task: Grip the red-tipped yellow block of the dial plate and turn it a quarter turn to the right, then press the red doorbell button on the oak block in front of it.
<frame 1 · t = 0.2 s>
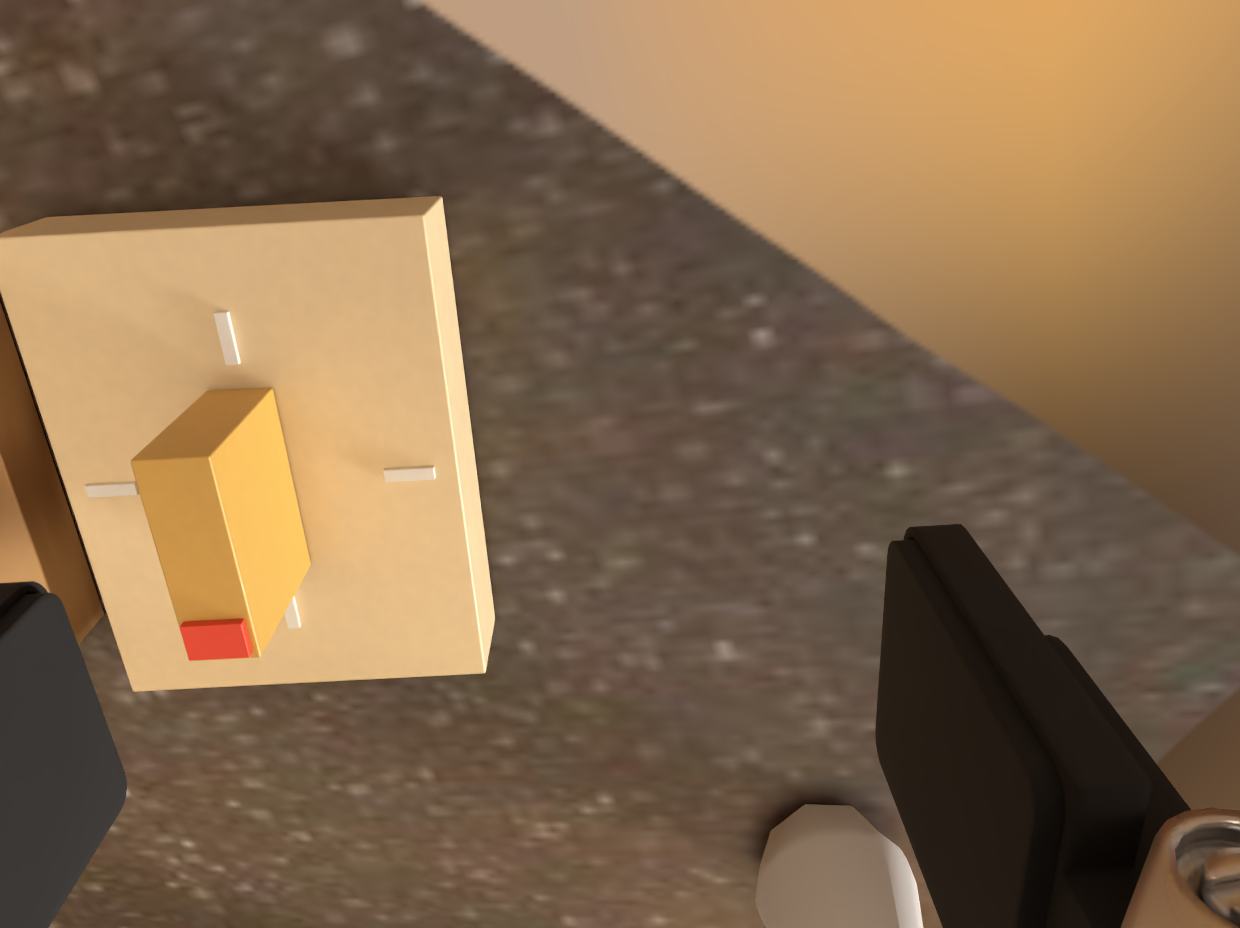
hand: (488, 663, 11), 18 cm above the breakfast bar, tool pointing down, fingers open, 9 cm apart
salt shaker: (819, 836, 37), on the breakfast bar
dial plate: (293, 438, 29), on the breakfast bar
red-tipped yellow block: (230, 521, 24), point 5 cm above the breakfast bar, hinge at 0.0°
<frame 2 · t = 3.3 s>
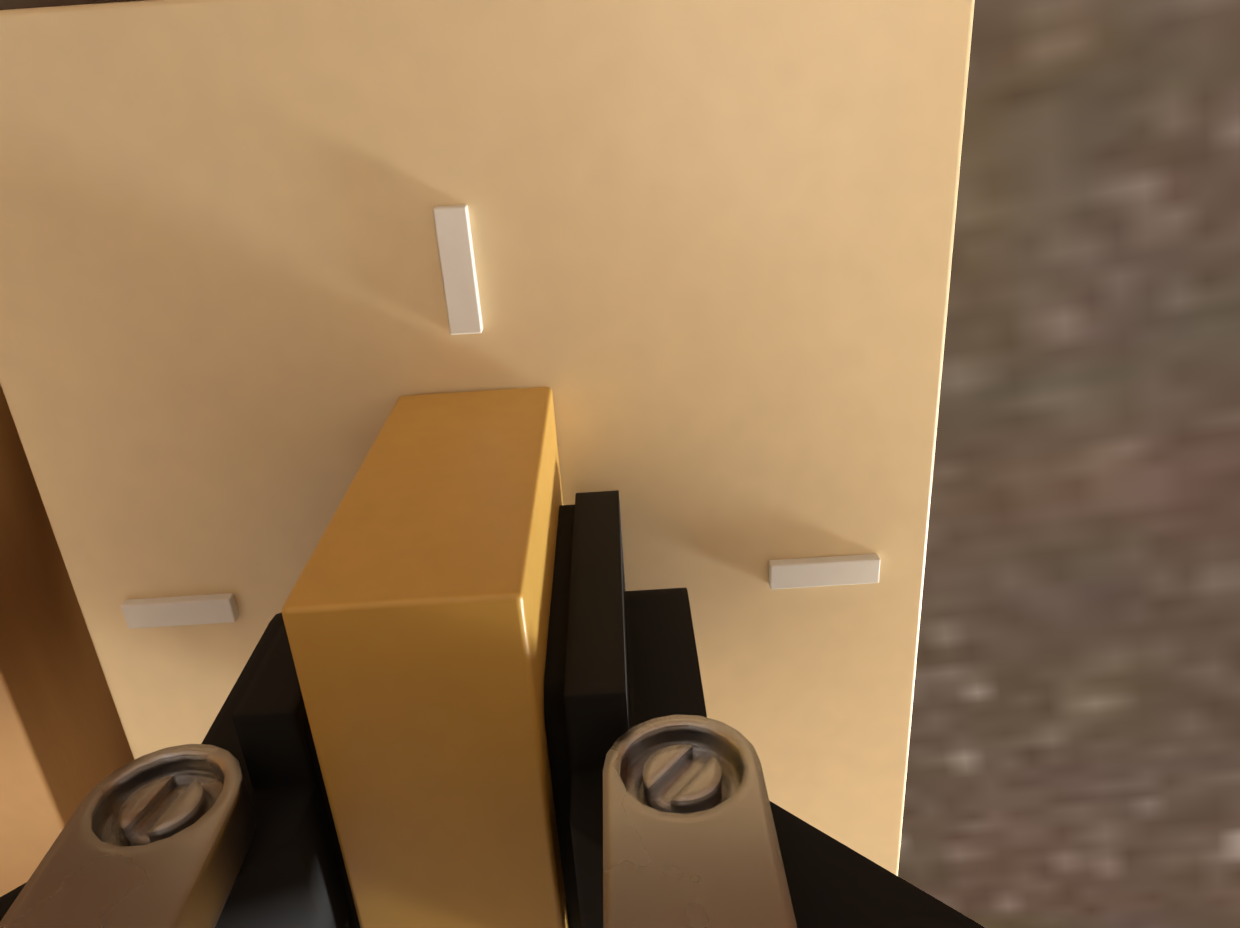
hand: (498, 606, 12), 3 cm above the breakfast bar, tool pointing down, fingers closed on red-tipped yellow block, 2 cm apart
dial plate: (520, 486, 15), on the breakfast bar
red-tipped yellow block: (480, 710, 10), point 5 cm above the breakfast bar, hinge at 0.0°, touching gripper
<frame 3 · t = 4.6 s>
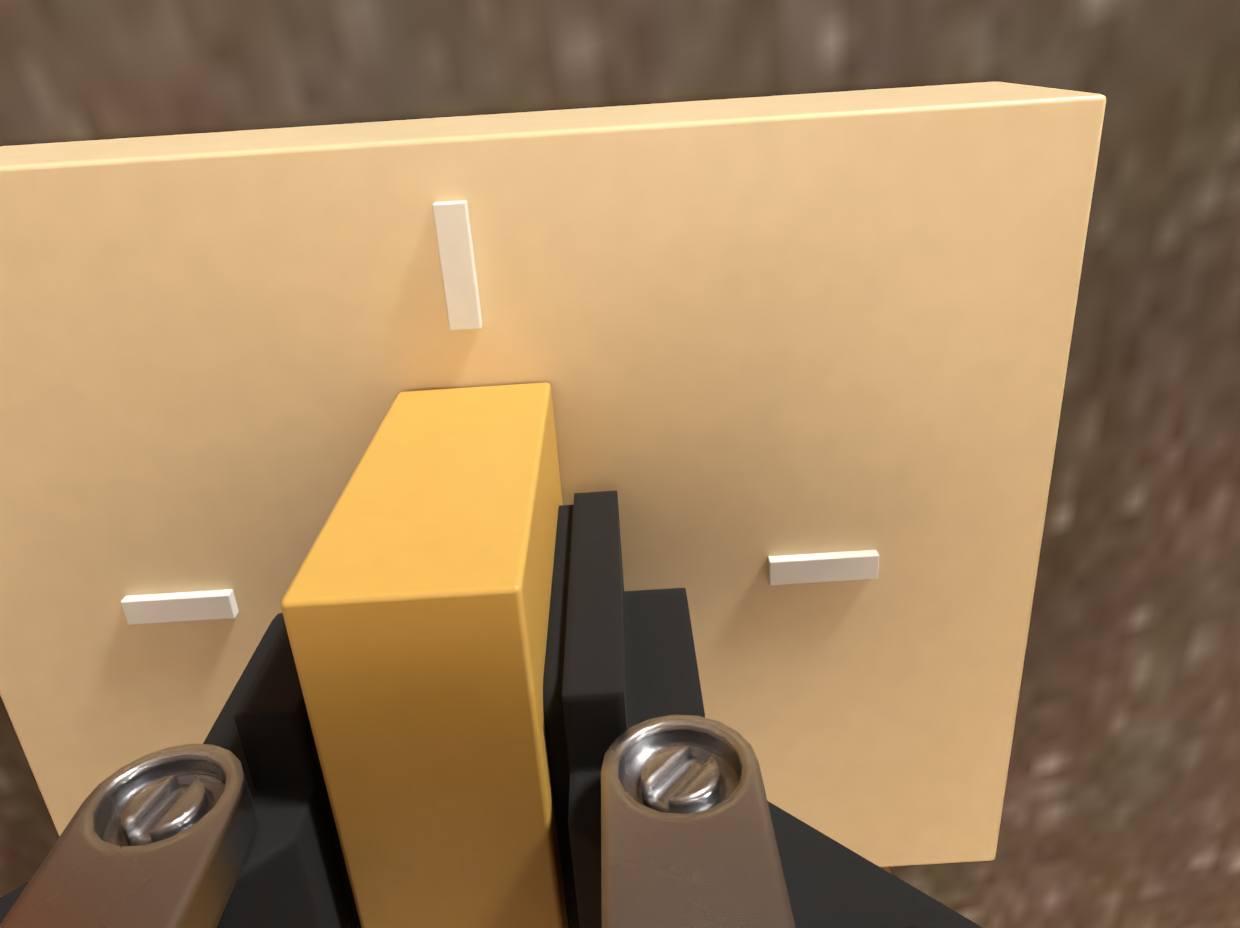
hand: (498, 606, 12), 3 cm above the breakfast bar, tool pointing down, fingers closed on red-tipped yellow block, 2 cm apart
dial plate: (519, 483, 15), on the breakfast bar
red-tipped yellow block: (479, 705, 10), point 5 cm above the breakfast bar, hinge at -90.0°, touching gripper
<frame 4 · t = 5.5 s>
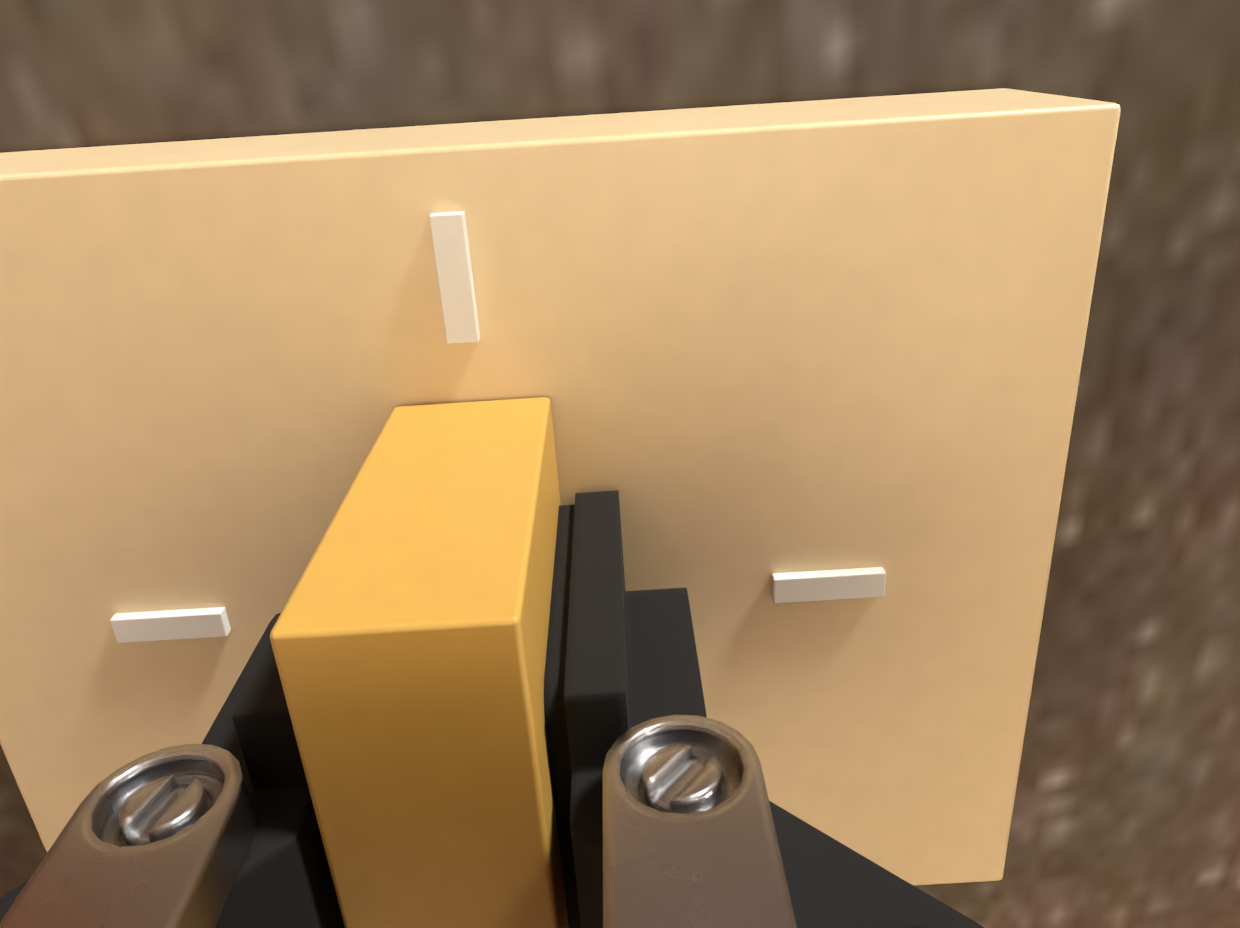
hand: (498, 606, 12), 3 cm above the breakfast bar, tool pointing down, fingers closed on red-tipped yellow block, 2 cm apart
dial plate: (518, 495, 15), on the breakfast bar
red-tipped yellow block: (476, 730, 10), point 5 cm above the breakfast bar, hinge at -89.9°, touching gripper
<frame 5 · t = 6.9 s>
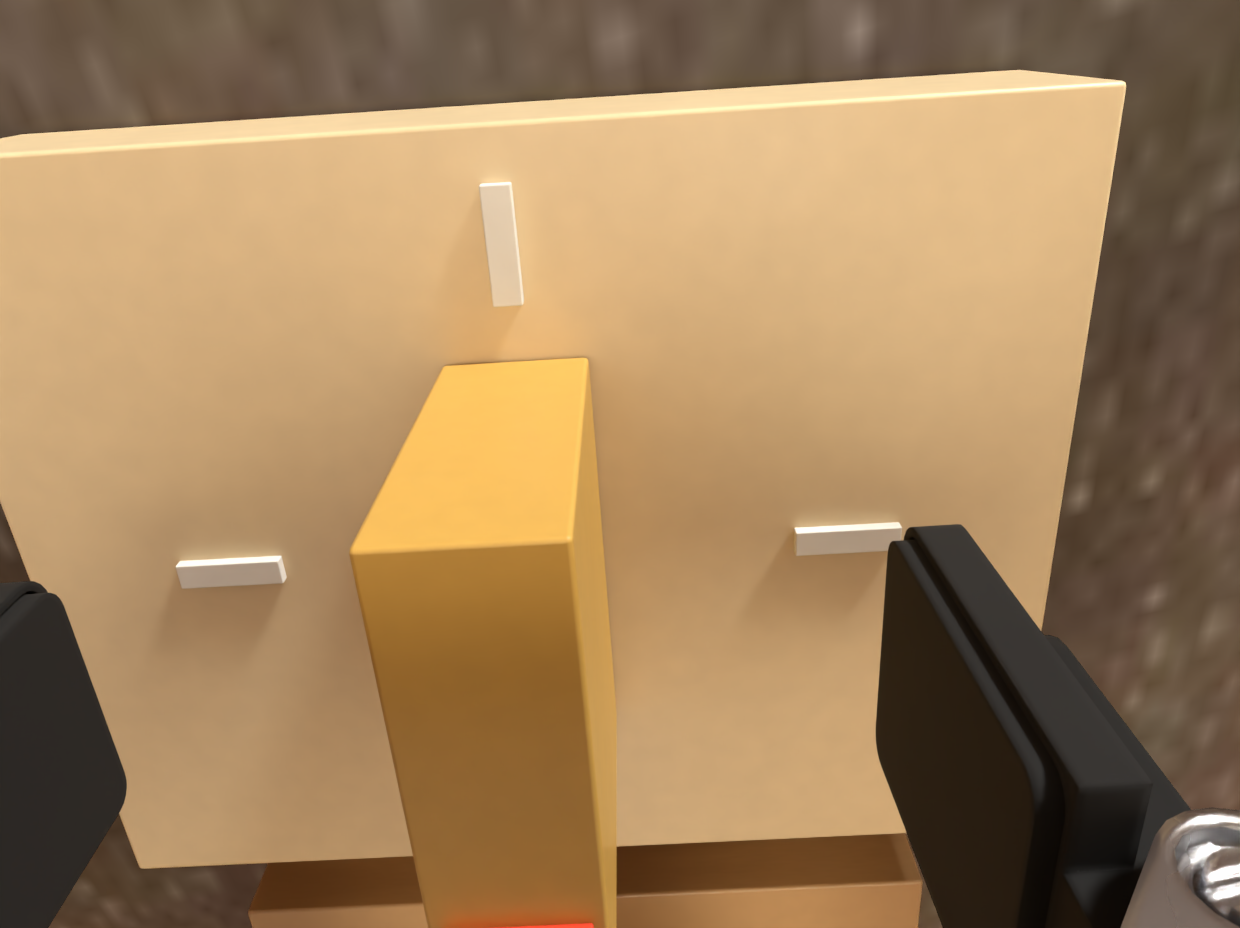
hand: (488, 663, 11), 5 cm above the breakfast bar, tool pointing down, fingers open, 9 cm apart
dial plate: (551, 459, 15), on the breakfast bar
red-tipped yellow block: (520, 662, 10), point 5 cm above the breakfast bar, hinge at -89.9°
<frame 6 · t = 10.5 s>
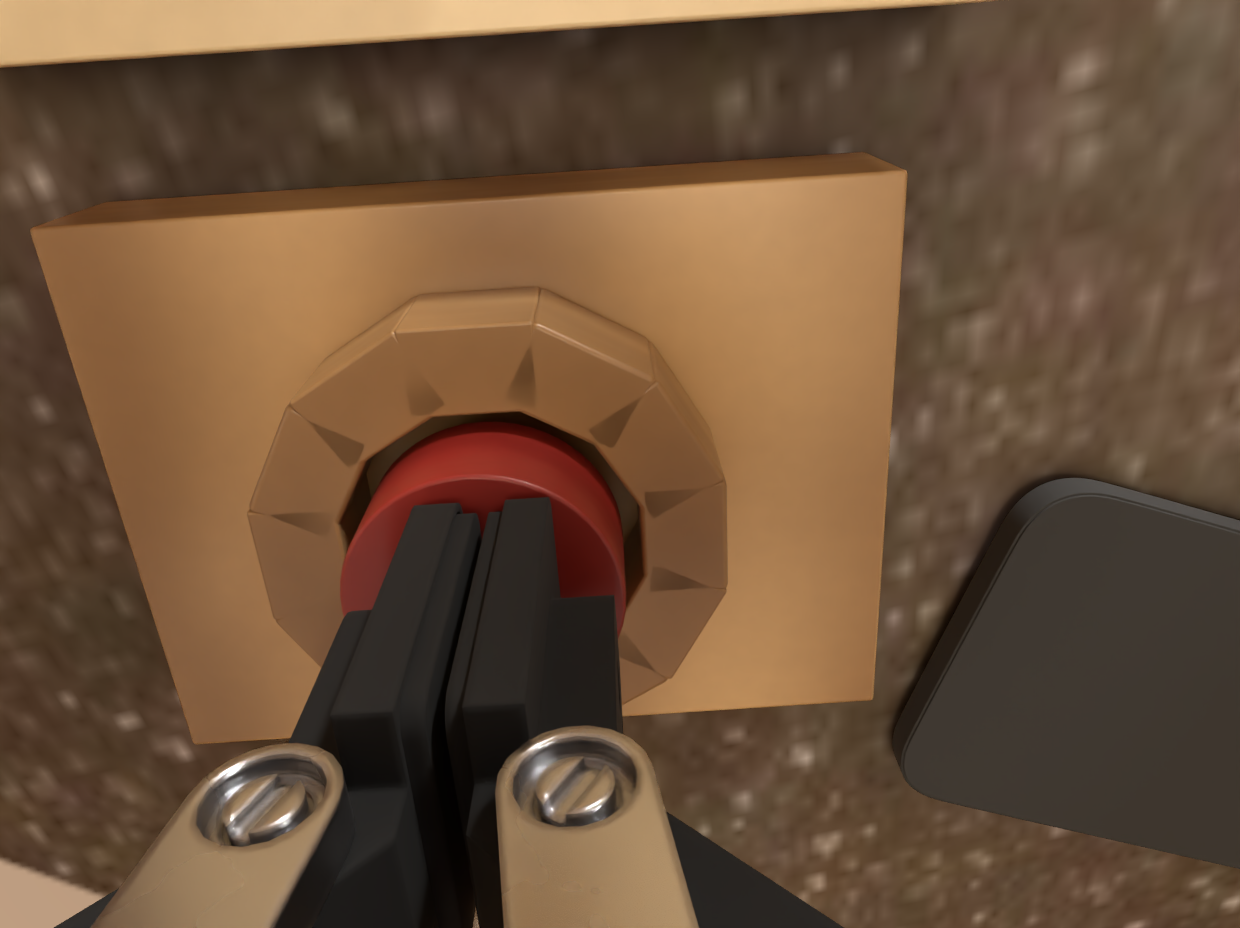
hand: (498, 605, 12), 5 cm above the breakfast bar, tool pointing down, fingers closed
bell button: (490, 568, 13), point 4 cm above the breakfast bar, slide at 0.0 cm, touching gripper
wooden button base: (515, 439, 17), on the breakfast bar
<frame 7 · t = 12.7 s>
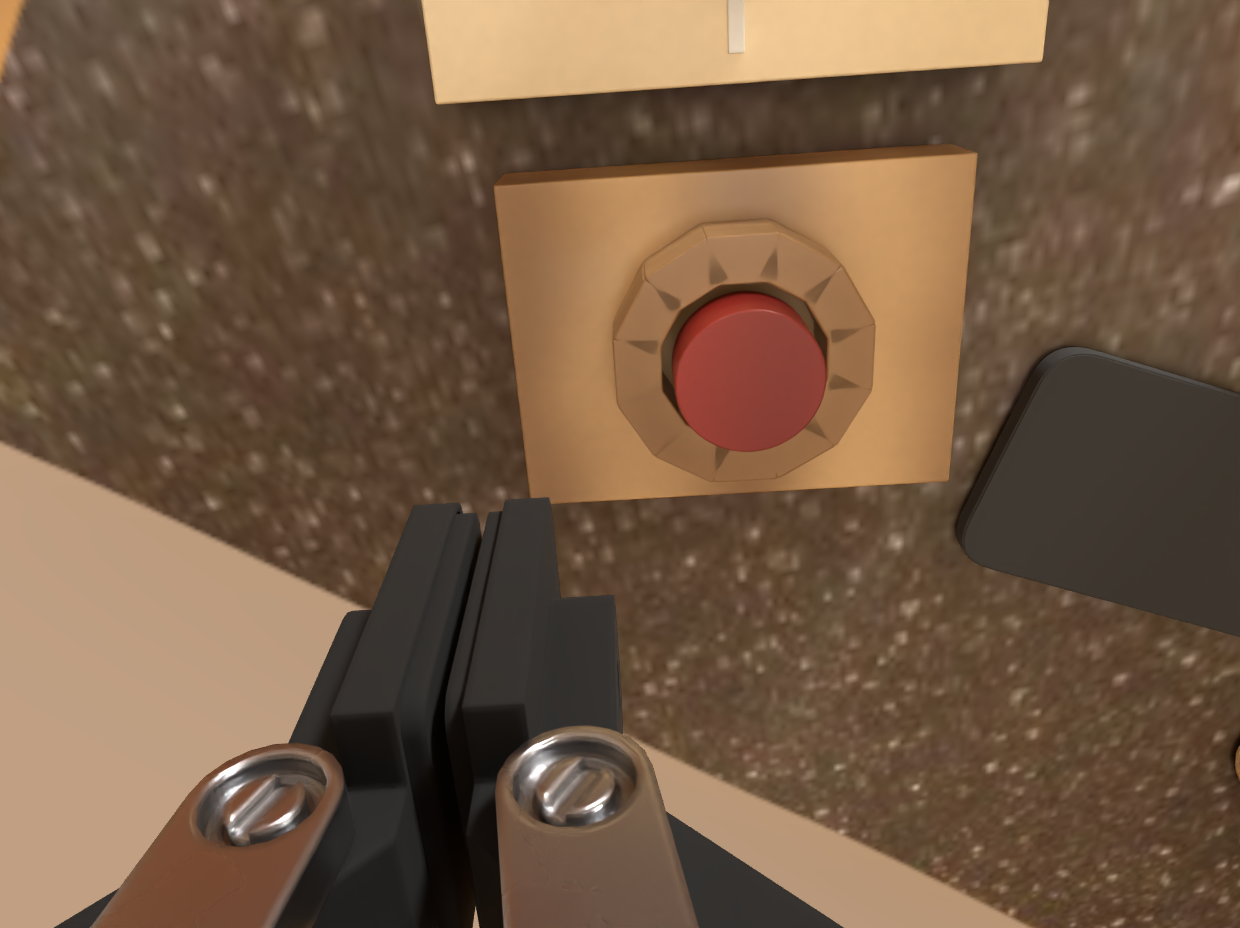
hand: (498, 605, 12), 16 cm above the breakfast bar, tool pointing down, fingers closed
phone: (1208, 505, 30), on the breakfast bar
bell button: (746, 371, 23), point 4 cm above the breakfast bar, slide at 0.1 cm
wooden button base: (728, 320, 27), on the breakfast bar
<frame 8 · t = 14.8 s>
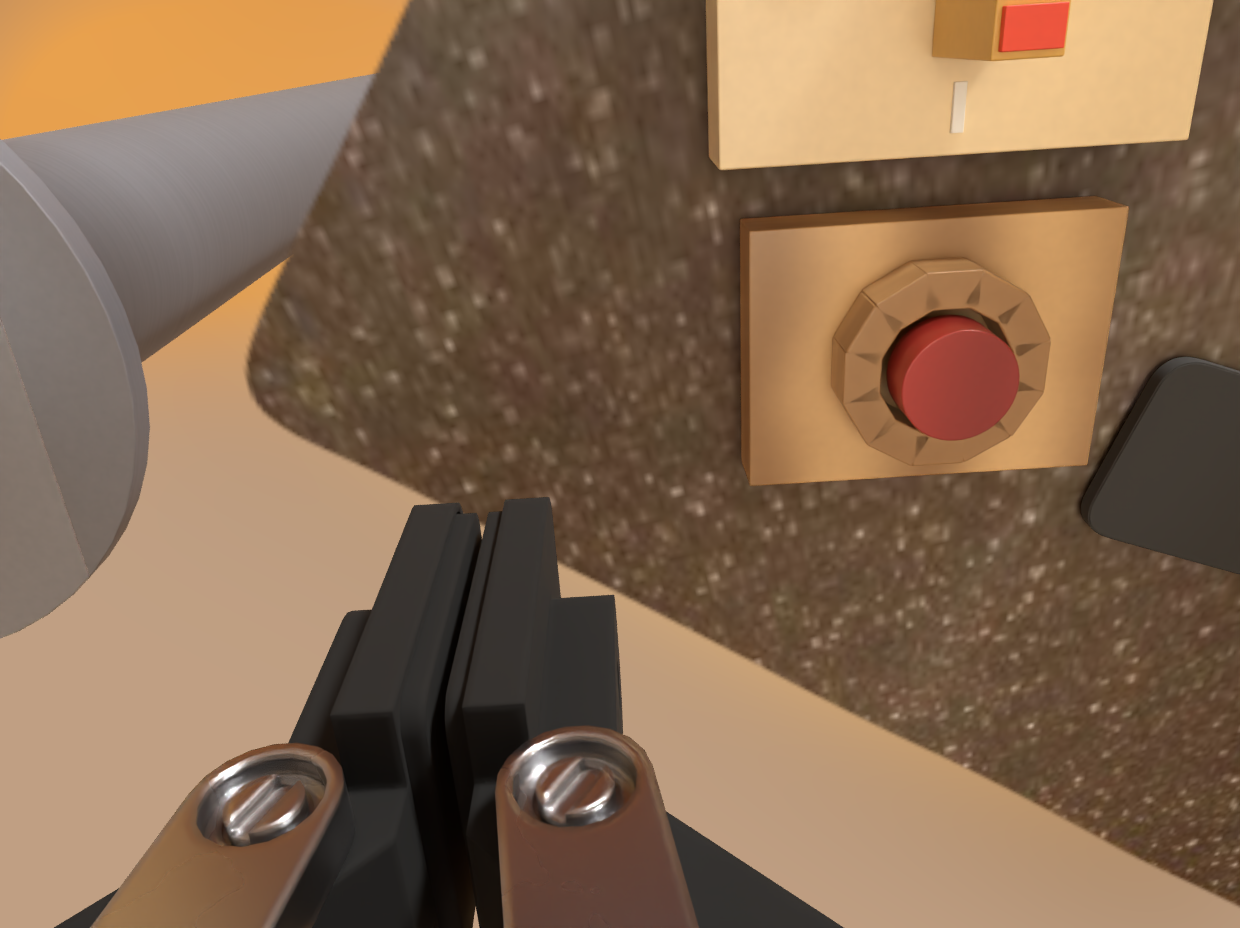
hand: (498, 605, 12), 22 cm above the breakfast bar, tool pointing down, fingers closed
bell button: (951, 377, 29), point 4 cm above the breakfast bar, slide at 0.1 cm
wooden button base: (908, 335, 33), on the breakfast bar
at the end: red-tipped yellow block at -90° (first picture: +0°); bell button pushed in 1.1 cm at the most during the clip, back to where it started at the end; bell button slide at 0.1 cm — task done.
